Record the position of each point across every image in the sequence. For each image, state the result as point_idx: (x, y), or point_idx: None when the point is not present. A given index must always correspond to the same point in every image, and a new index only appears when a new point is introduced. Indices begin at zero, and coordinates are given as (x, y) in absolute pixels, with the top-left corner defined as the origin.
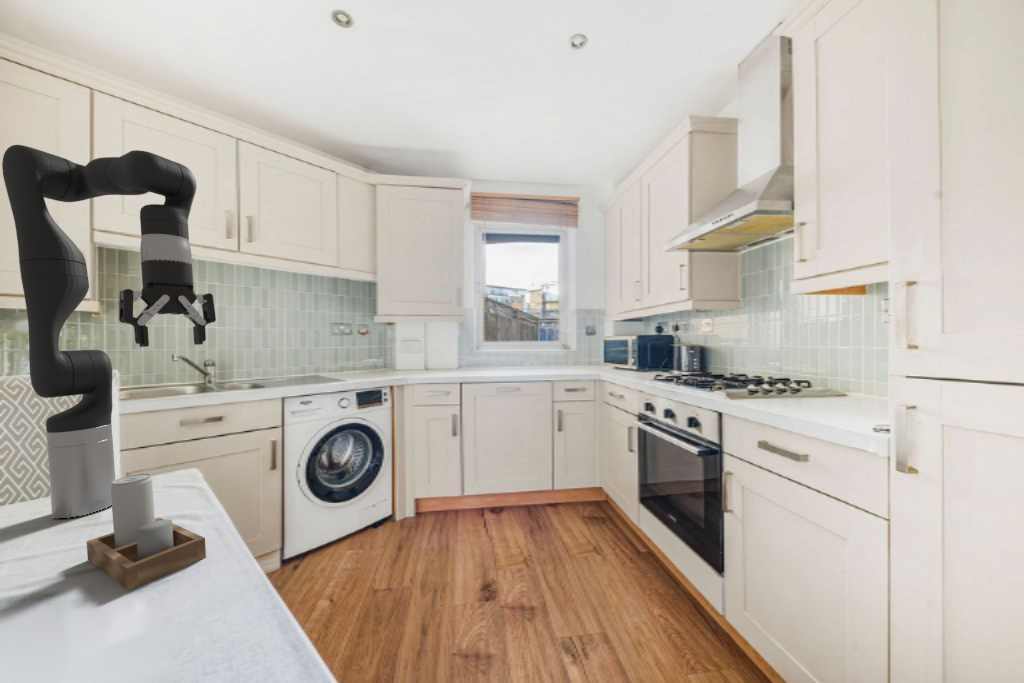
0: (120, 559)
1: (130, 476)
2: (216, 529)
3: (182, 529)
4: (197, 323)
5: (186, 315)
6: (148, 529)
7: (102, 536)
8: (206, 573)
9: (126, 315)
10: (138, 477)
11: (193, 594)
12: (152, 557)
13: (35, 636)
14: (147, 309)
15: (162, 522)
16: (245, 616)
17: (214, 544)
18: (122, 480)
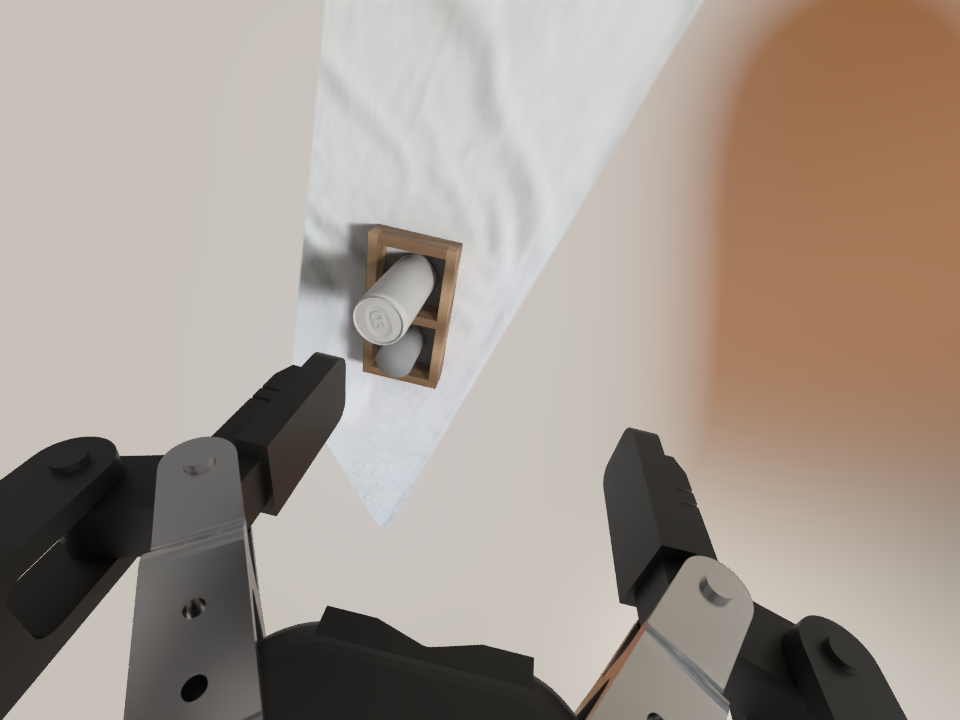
0: (367, 344)
1: (385, 300)
2: (498, 318)
3: (440, 339)
4: (645, 615)
5: (610, 673)
6: (385, 366)
7: (384, 238)
8: (420, 402)
9: (72, 570)
10: (388, 323)
11: (395, 420)
12: (385, 375)
13: (308, 352)
14: (180, 640)
15: (403, 362)
16: (395, 475)
17: (465, 356)
18: (368, 312)
